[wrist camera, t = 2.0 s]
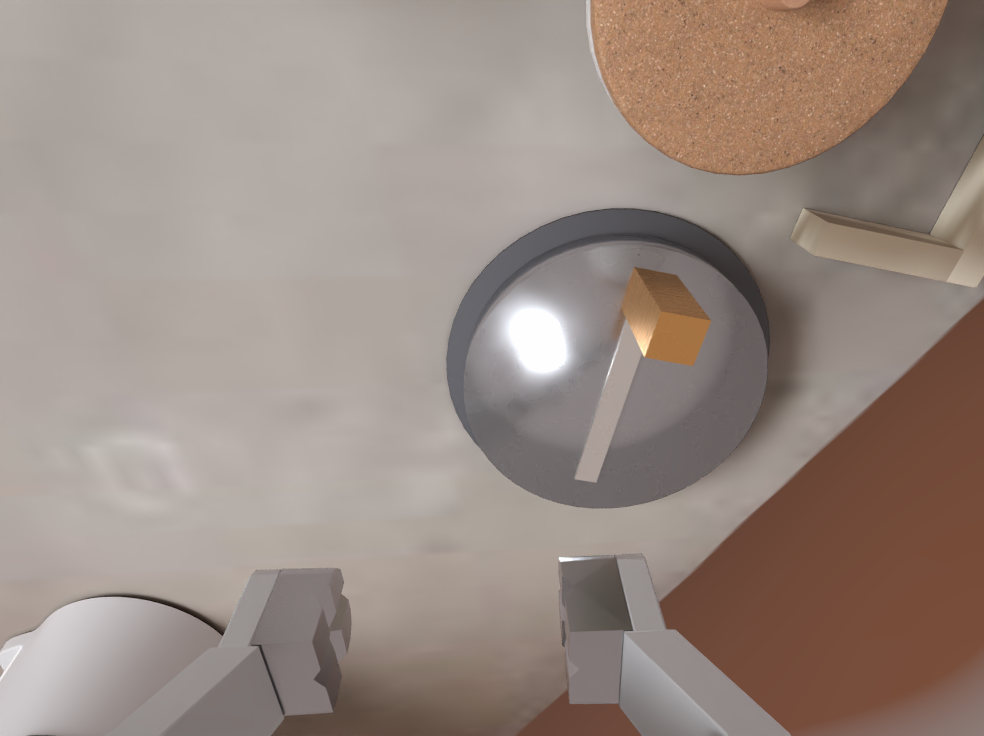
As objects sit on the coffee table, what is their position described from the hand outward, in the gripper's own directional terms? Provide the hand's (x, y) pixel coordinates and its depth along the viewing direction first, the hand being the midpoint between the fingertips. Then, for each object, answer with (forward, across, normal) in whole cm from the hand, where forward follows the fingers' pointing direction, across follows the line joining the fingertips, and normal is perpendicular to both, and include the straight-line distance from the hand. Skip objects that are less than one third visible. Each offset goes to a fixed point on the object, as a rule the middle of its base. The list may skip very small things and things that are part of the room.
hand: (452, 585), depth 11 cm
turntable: (+21, -6, +7) cm, 23 cm away
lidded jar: (+21, -10, -9) cm, 25 cm away
